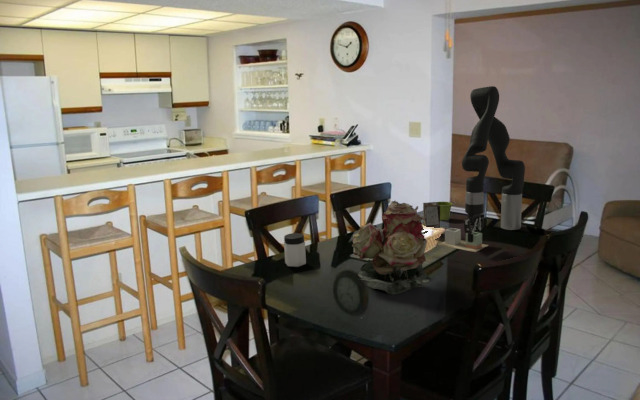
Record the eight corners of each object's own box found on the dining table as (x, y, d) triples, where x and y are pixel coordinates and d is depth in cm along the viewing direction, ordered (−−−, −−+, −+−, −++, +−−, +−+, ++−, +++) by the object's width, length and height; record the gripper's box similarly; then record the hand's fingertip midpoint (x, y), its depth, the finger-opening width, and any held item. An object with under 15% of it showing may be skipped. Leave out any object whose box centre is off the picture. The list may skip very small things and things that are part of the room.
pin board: (451, 240, 238) (451, 227, 237) (488, 247, 226) (489, 233, 225) (437, 247, 230) (437, 233, 229) (475, 254, 218) (475, 240, 216)
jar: (283, 261, 220) (281, 234, 217) (302, 259, 222) (300, 231, 220) (288, 268, 212) (286, 239, 209) (307, 265, 214) (306, 237, 211)
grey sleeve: (450, 240, 235) (450, 227, 233) (460, 242, 231) (460, 229, 230) (444, 243, 231) (444, 230, 230) (455, 245, 228) (455, 231, 226)
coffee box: (440, 240, 240) (440, 205, 237) (426, 240, 240) (426, 206, 237) (436, 234, 249) (436, 201, 245) (422, 235, 249) (422, 202, 246)
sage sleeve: (471, 244, 228) (471, 231, 227) (481, 246, 224) (482, 233, 223) (465, 247, 224) (465, 233, 223) (476, 249, 221) (476, 235, 220)
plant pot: (441, 216, 282) (441, 200, 280) (455, 219, 275) (456, 203, 273) (430, 219, 276) (430, 203, 275) (444, 222, 269) (445, 206, 267)
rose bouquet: (345, 276, 200) (342, 200, 193) (411, 264, 210) (411, 191, 203) (375, 300, 176) (374, 214, 170) (449, 285, 186) (449, 203, 180)
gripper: (474, 197, 228) (473, 235, 231) (457, 204, 218) (457, 242, 221) (490, 199, 223) (489, 237, 226) (474, 206, 213) (473, 246, 216)
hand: (473, 240), depth 224 cm, fingers open, 5 cm apart
